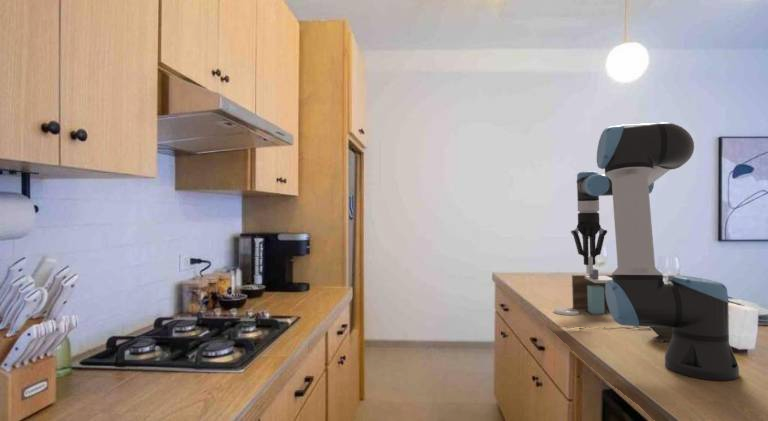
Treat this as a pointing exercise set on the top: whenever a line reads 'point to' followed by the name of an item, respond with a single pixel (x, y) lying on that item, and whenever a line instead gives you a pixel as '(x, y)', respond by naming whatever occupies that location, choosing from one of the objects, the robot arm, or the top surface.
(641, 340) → the top surface
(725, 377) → the robot arm
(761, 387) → the top surface
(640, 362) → the top surface
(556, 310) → the saucer
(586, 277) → the lid
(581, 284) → the dark brown wooden box
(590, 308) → the block
